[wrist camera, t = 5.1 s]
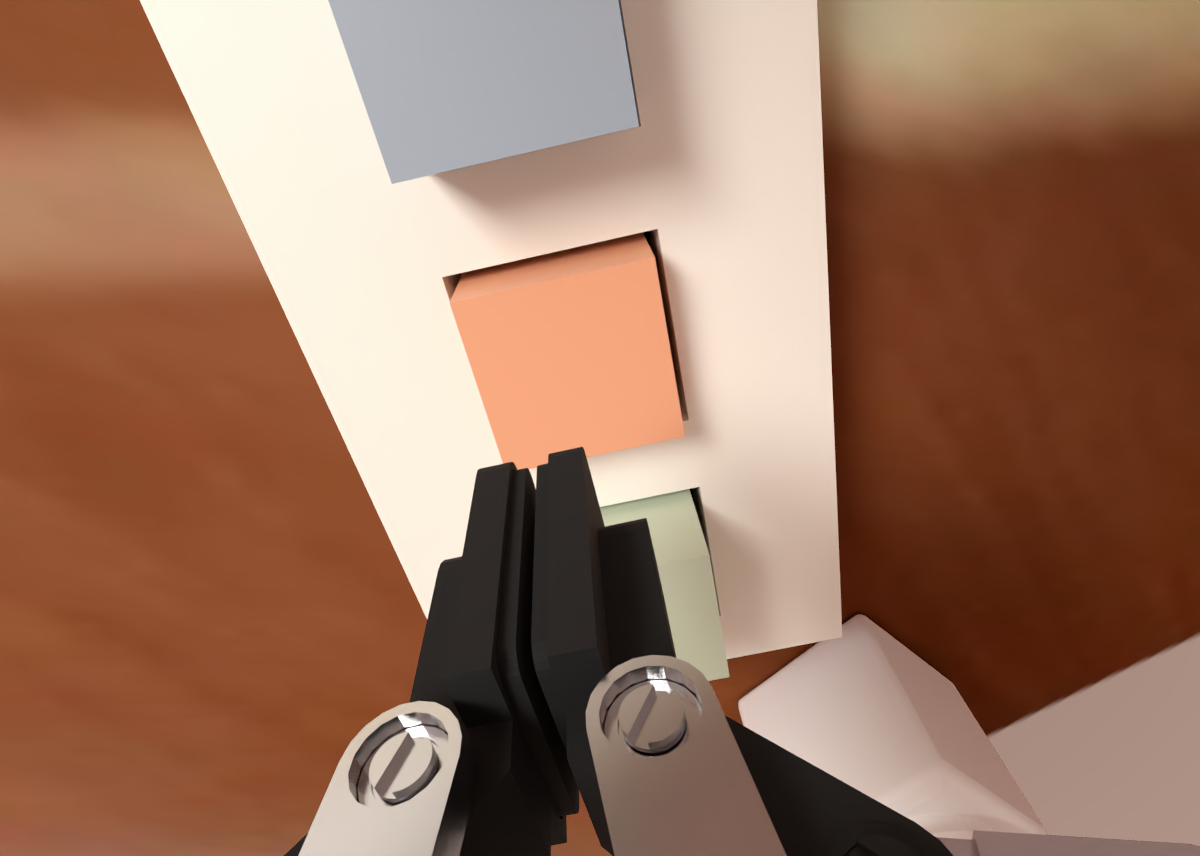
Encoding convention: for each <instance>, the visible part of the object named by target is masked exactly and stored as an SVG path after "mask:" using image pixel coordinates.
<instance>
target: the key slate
mask: <svg viewBox="0 0 1200 856" xmlns="http://www.w3.org/2000/svg"><path fill="white" fill-rule="evenodd" d="M328 1H329V4H330V7H331V10H332V13H333V16H334V18H335V21H336V24H337V27H338V30H339V33H340V36H341V39H342V42H343V44H344V47H345V50H346V53H347V56H348V59H349V62H350V65H351V68H352V70H353V73H354V76H355V79H356V82H357V85H358V88H359V91H360V94H361V96H362V99H363V102H364V105H365V108H366V111H367V114H368V117H369V120H370V122H371V125H372V128H373V131H374V134H375V137H376V140H377V143H378V146H379V148H380V151H381V154H382V157H383V160H384V163H385V166H386V169H387V172H388V174H389V177H390V180H391V183H392V184H394V183H399V182H403V181H407V180H412V179H416V178H420V177H424V176H429V175H433V174H437V173H442V172H446V171H450V170H454V169H459V168H463V167H467V166H472V165H476V164H480V163H484V162H489V161H493V160H497V159H502V158H506V157H510V156H514V155H519V154H523V153H527V152H532V151H536V150H540V149H545V148H549V147H553V146H557V145H562V144H566V143H570V142H575V141H579V140H583V139H587V138H592V137H596V136H600V135H605V134H609V133H613V132H617V131H622V130H626V129H630V128H635V127H639V123H638V117H637V111H636V105H635V99H634V92H633V86H632V80H631V74H630V68H629V62H628V56H627V50H626V44H625V38H624V32H623V26H622V19H621V13H620V7H619V1H618V0H328Z"/></svg>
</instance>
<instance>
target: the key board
mask: <svg viewBox="0 0 1200 856" xmlns="http://www.w3.org/2000/svg"><path fill="white" fill-rule="evenodd" d="M618 1H619V7H620V13H621V19H622V26H623V32H624V38H625V44H626V50H627V56H628V62H629V68H630V74H631V80H632V86H633V92H634V99H635V105H636V111H637V117H638V123H639V127H635V128H630V129H626V130H622V131H617V132H613V133H609V134H605V135H600V136H596V137H592V138H587V139H583V140H579V141H575V142H570V143H566V144H562V145H557V146H553V147H549V148H545V149H540V150H536V151H532V152H527V153H523V154H519V155H514V156H510V157H506V158H502V159H497V160H493V161H489V162H484V163H480V164H476V165H472V166H467V167H463V168H459V169H454V170H450V171H446V172H442V173H437V174H433V175H429V176H424V177H420V178H416V179H412V180H407V181H403V182H399V183H394V184H392V183H391V180H390V177H389V174H388V172H387V169H386V166H385V163H384V160H383V157H382V154H381V151H380V148H379V146H378V143H377V140H376V137H375V134H374V131H373V128H372V125H371V122H370V120H369V117H368V114H367V111H366V108H365V105H364V102H363V99H362V96H361V94H360V91H359V88H358V85H357V82H356V79H355V76H354V73H353V70H352V68H351V65H350V62H349V59H348V56H347V53H346V50H345V47H344V44H343V42H342V39H341V36H340V33H339V30H338V27H337V24H336V21H335V18H334V16H333V13H332V10H331V7H330V4H329V1H328V0H140V2H141V4H142V6H143V8H144V10H145V13H146V15H147V17H148V19H149V21H150V23H151V26H152V28H153V30H154V32H155V34H156V36H157V38H158V41H159V43H160V45H161V47H162V49H163V51H164V54H165V56H166V58H167V60H168V62H169V64H170V66H171V69H172V71H173V73H174V75H175V77H176V79H177V82H178V84H179V86H180V88H181V90H182V92H183V94H184V97H185V99H186V101H187V103H188V105H189V107H190V110H191V112H192V114H193V116H194V118H195V120H196V122H197V125H198V127H199V129H200V131H201V133H202V135H203V138H204V140H205V142H206V144H207V146H208V148H209V150H210V153H211V155H212V157H213V159H214V161H215V163H216V166H217V168H218V170H219V172H220V174H221V176H222V178H223V181H224V183H225V185H226V187H227V189H228V191H229V194H230V196H231V198H232V200H233V202H234V204H235V206H236V209H237V211H238V213H239V215H240V217H241V219H242V222H243V224H244V226H245V228H246V230H247V232H248V234H249V237H250V239H251V241H252V243H253V245H254V247H255V250H256V252H257V254H258V256H259V258H260V260H261V263H262V265H263V267H264V269H265V271H266V273H267V275H268V278H269V280H270V282H271V284H272V286H273V288H274V291H275V293H276V295H277V297H278V299H279V301H280V303H281V306H282V308H283V310H284V312H285V314H286V316H287V319H288V321H289V323H290V325H291V327H292V329H293V331H294V334H295V336H296V338H297V340H298V342H299V344H300V347H301V349H302V351H303V353H304V355H305V357H306V359H307V362H308V364H309V366H310V368H311V370H312V372H313V375H314V377H315V379H316V381H317V383H318V385H319V387H320V390H321V392H322V394H323V396H324V398H325V400H326V403H327V405H328V407H329V409H330V411H331V413H332V415H333V418H334V420H335V422H336V424H337V426H338V428H339V431H340V433H341V435H342V437H343V439H344V441H345V443H346V446H347V448H348V450H349V452H350V454H351V456H352V459H353V461H354V463H355V465H356V467H357V469H358V471H359V474H360V476H361V478H362V480H363V482H364V484H365V487H366V489H367V491H368V493H369V495H370V497H371V499H372V502H373V504H374V506H375V508H376V510H377V512H378V515H379V517H380V519H381V521H382V523H383V525H384V527H385V530H386V532H387V534H388V536H389V538H390V540H391V543H392V545H393V547H394V549H395V551H396V553H397V555H398V558H399V560H400V562H401V564H402V566H403V568H404V571H405V573H406V575H407V577H408V579H409V581H410V583H411V586H412V588H413V590H414V592H415V594H416V596H417V599H418V601H419V603H420V605H421V607H422V609H423V611H424V614H425V616H426V618H427V619H428V615H429V610H430V605H431V601H432V596H433V591H434V587H435V582H436V577H437V573H438V569H439V566H440V564H441V563H442V562H443V561H444V560H447V559H452V558H456V557H461V556H462V554H463V549H464V543H465V537H466V531H467V525H468V520H469V514H470V508H471V502H472V497H473V491H474V485H475V479H476V474H477V471H478V469H481V468H485V467H490V466H494V465H499V464H503V462H502V459H501V456H500V453H499V450H498V447H497V444H496V441H495V438H494V435H493V432H492V429H491V426H490V423H489V420H488V417H487V414H486V411H485V408H484V405H483V402H482V399H481V396H480V393H479V390H478V387H477V384H476V381H475V378H474V375H473V372H472V369H471V366H470V363H469V360H468V357H467V354H466V351H465V348H464V345H463V342H462V339H461V336H460V333H459V330H458V327H457V324H456V321H455V318H454V315H453V312H452V309H451V306H450V301H451V298H452V296H453V294H454V292H455V289H456V287H457V285H458V282H459V280H460V278H461V276H462V273H463V272H468V271H472V270H477V269H481V268H486V267H490V266H494V265H499V264H503V263H508V262H512V261H517V260H521V259H526V258H530V257H534V256H539V255H543V254H548V253H552V252H557V251H561V250H566V249H570V248H574V247H579V246H583V245H588V244H592V243H597V242H601V241H606V240H610V239H615V238H619V237H623V236H628V235H632V234H637V233H641V232H646V231H649V237H650V243H651V249H652V252H653V254H654V256H655V261H656V267H657V273H658V278H659V284H660V290H661V296H662V302H663V308H664V314H665V320H666V326H667V332H668V338H669V344H670V350H671V356H672V362H673V367H674V373H675V379H676V385H677V391H678V397H679V403H680V409H681V415H682V421H683V427H684V433H685V437H681V438H676V439H671V440H667V441H662V442H657V443H652V444H647V445H643V446H638V447H633V448H628V449H623V450H618V451H614V452H609V453H604V454H599V455H594V456H590V457H587V461H588V465H589V469H590V472H591V476H592V480H593V484H594V488H595V491H596V495H597V499H598V503H599V506H600V507H603V506H607V505H612V504H617V503H622V502H627V501H632V500H637V499H642V498H647V497H652V496H656V495H661V494H666V493H671V492H676V491H681V490H686V489H691V488H692V490H693V496H694V501H695V507H696V512H697V516H698V519H699V522H700V525H701V529H702V532H703V535H704V539H705V542H706V545H707V548H708V552H709V555H710V561H711V567H712V573H713V579H714V585H715V591H716V597H717V603H718V609H719V616H720V622H721V628H722V634H723V640H724V646H725V652H726V658H727V659H731V658H736V657H741V656H746V655H752V654H757V653H762V652H767V651H773V650H778V649H783V648H788V647H794V646H799V645H804V644H809V643H815V642H820V641H825V640H830V639H836V638H841V637H842V614H841V589H840V564H839V539H838V514H837V489H836V464H835V439H834V414H833V389H832V364H831V339H830V314H829V288H828V263H827V238H826V213H825V188H824V163H823V138H822V113H821V88H820V63H819V38H818V13H817V0H618ZM529 471H530V473H531V476H532V479H533V482H534V485H535V488H536V478H537V468H532V469H529Z"/></svg>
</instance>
